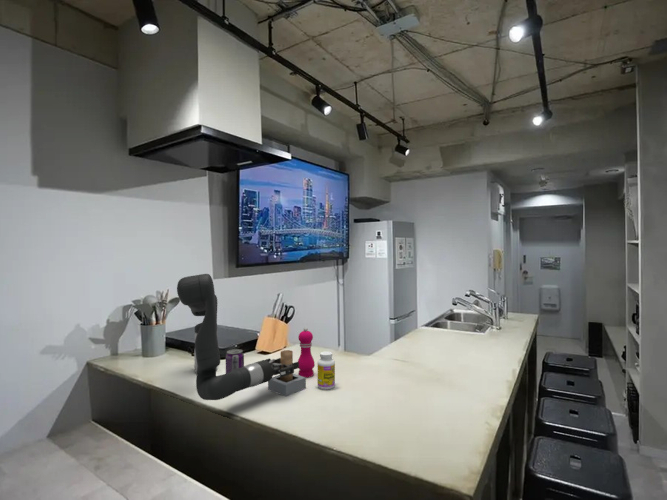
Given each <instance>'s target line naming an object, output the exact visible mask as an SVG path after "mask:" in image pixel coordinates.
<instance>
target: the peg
mask: <svg viewBox="0 0 667 500" xmlns="http://www.w3.org/2000/svg"><path fill="white" fill-rule="evenodd" d="M293 353H294V352H293V351H292V350H290V349H289V350H288V349H285V350H281V351H280V358H281V363H285V364H292V363H294V362H293V359H294V358H293V356H294V355H293ZM282 368H283V366H281V369H282ZM293 374H294V373H293ZM293 374H290V375H287V376H284V377H281V381H284V382H289V381H291V380H293Z"/></svg>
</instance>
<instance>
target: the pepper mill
mask: <svg viewBox="0 0 667 500" xmlns="http://www.w3.org/2000/svg"><path fill="white" fill-rule="evenodd" d="M313 338H314V335H313V333H312V332H311V331H309V330H308V327H304V328H303V330H302V331H301V332H299V334H298V341H299V347H300V354H299V355H300V356H299V357H298V360H297V362H299V368H298V375H299V376H302V377H306V379H308V378H311V377H313V376H314V374H315V373H314V367H315V360H314V357H313V355H312V350H311V349H312V348H311V347H313V345H312V344H313V343H312V340H314V339H313Z"/></svg>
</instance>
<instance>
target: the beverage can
mask: <svg viewBox="0 0 667 500" xmlns="http://www.w3.org/2000/svg"><path fill="white" fill-rule="evenodd" d="M243 351H244V350H243V349H239V348H234V349H230V350H227V351H226V355H225V374H227V373H229V372H230V371H232V370H235V369H238V368H241V367H244V366H245V355H244V352H243Z"/></svg>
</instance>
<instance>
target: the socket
mask: <svg viewBox="0 0 667 500" xmlns="http://www.w3.org/2000/svg"><path fill="white" fill-rule="evenodd" d="M267 385H268V386H267V390H268V391H271V392H274V393H277V394H279V395H281V396H284V397H289V396H290V395H293V394H295V393H298V392H299V391H303V390H305V389H306V388H307V378H306V377H302V376H299V374H296V373H293V380H291V381H289V382H284V381H281V377H280V374H278V375H274V376H272V378H271V380H270V381H268V382H267Z"/></svg>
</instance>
